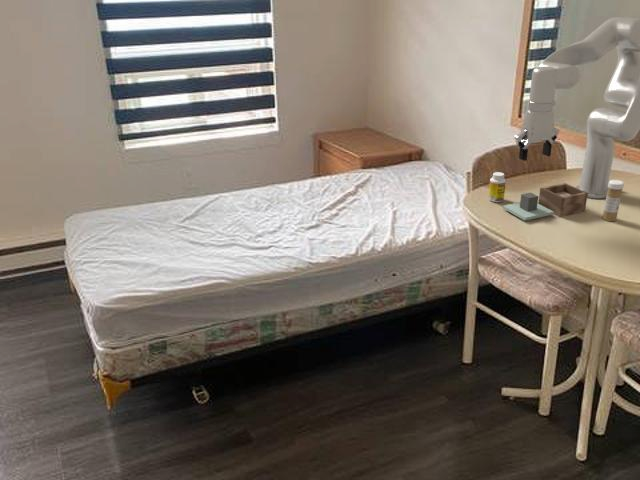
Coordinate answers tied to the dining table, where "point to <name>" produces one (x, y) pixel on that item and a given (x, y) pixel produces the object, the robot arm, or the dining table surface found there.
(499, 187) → the supplement bottle
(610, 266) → the dining table surface
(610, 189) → the sprinkles bottle
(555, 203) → the storage box
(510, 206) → the lid
